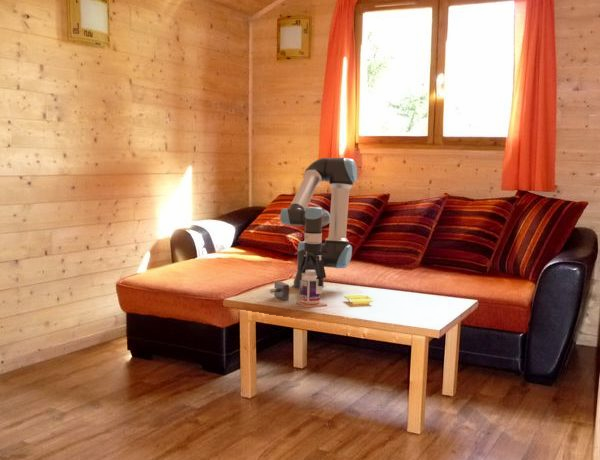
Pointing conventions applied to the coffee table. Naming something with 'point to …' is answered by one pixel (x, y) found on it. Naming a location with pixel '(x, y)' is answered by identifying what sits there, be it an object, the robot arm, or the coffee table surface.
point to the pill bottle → (309, 288)
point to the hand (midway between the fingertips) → (311, 290)
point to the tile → (311, 304)
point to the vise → (283, 290)
